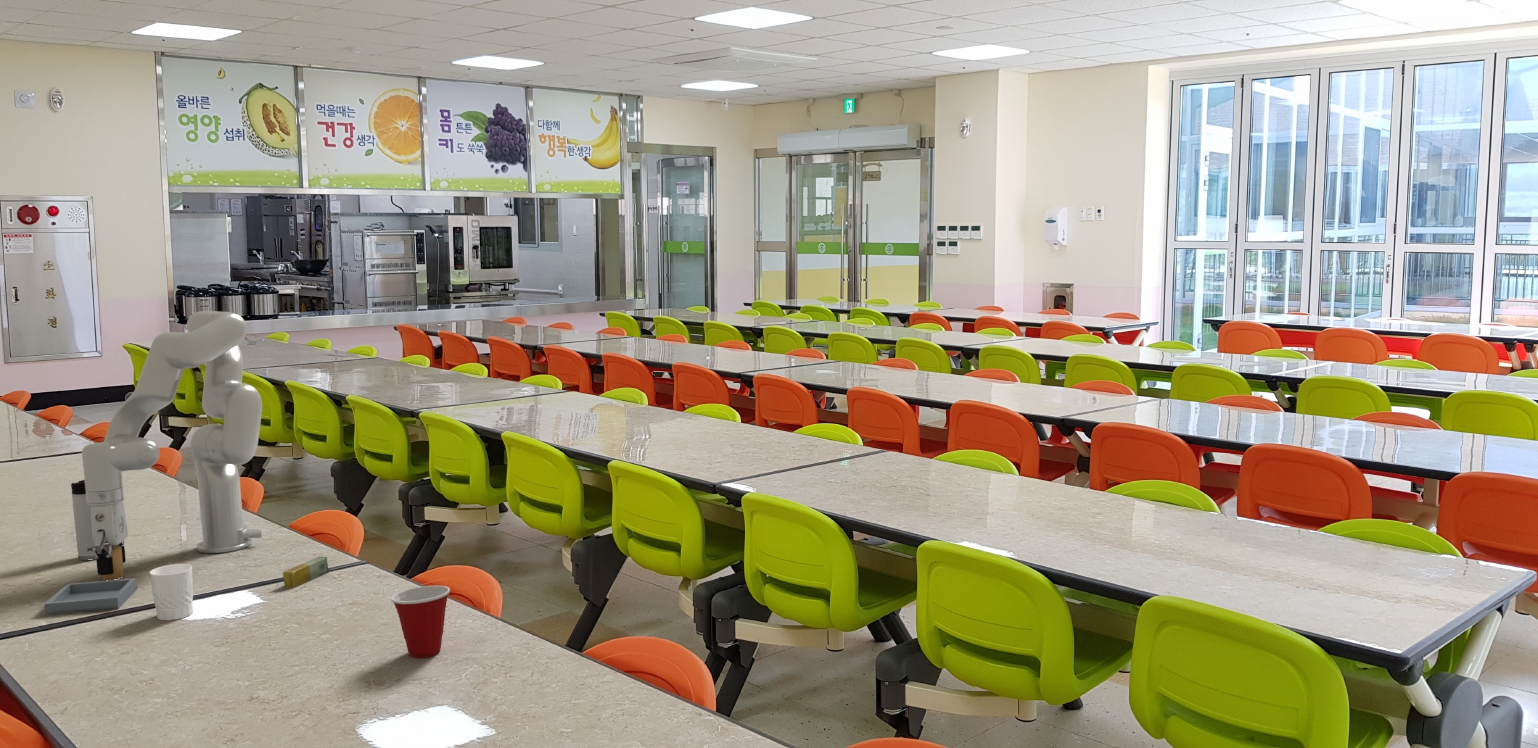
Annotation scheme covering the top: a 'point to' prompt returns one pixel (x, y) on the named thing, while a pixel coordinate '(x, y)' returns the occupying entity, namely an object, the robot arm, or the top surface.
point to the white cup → (172, 591)
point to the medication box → (305, 572)
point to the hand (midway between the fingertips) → (112, 568)
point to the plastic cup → (422, 618)
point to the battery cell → (115, 564)
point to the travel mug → (82, 522)
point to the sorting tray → (91, 596)
